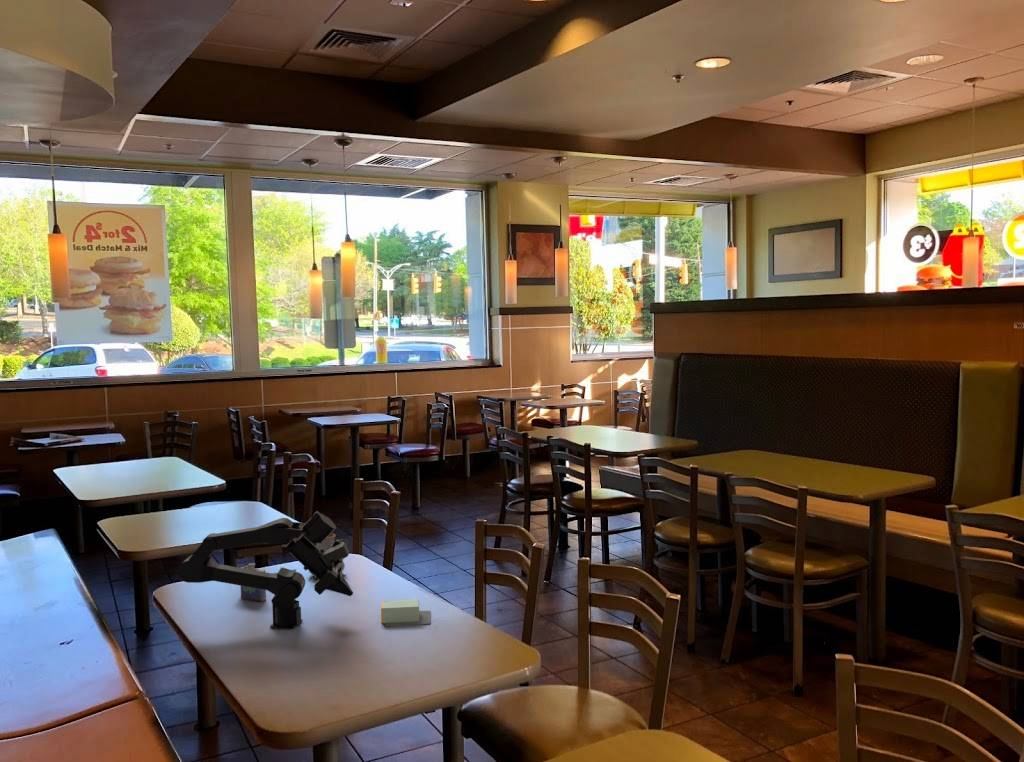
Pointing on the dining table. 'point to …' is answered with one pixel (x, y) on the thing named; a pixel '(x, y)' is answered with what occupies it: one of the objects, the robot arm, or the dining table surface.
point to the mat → (423, 619)
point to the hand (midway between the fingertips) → (352, 594)
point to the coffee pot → (327, 545)
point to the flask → (253, 589)
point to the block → (400, 611)
